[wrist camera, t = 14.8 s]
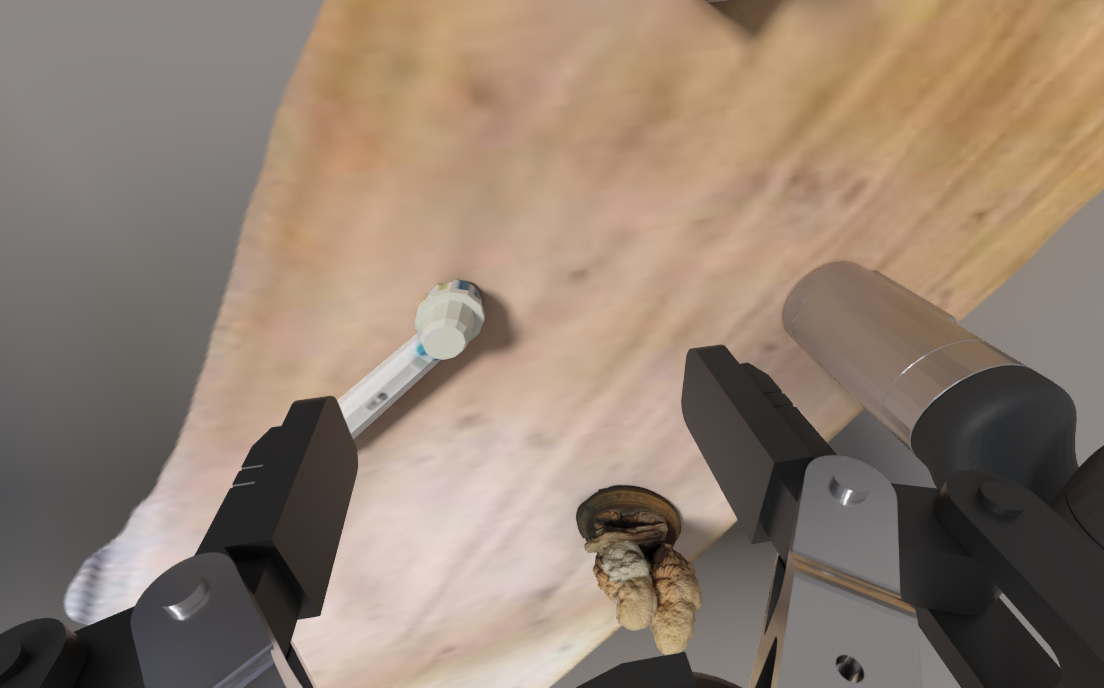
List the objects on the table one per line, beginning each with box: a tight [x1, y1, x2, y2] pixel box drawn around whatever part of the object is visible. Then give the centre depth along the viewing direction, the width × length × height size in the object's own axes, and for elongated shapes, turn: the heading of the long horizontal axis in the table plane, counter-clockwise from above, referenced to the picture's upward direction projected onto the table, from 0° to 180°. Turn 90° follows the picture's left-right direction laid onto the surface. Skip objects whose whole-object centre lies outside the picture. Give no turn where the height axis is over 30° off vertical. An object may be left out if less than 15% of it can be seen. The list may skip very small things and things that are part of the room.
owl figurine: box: [576, 486, 702, 655], centre depth 57 cm, size 18×12×17 cm, turn 46°
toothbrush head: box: [337, 279, 485, 440], centre depth 44 cm, size 5×7×25 cm
